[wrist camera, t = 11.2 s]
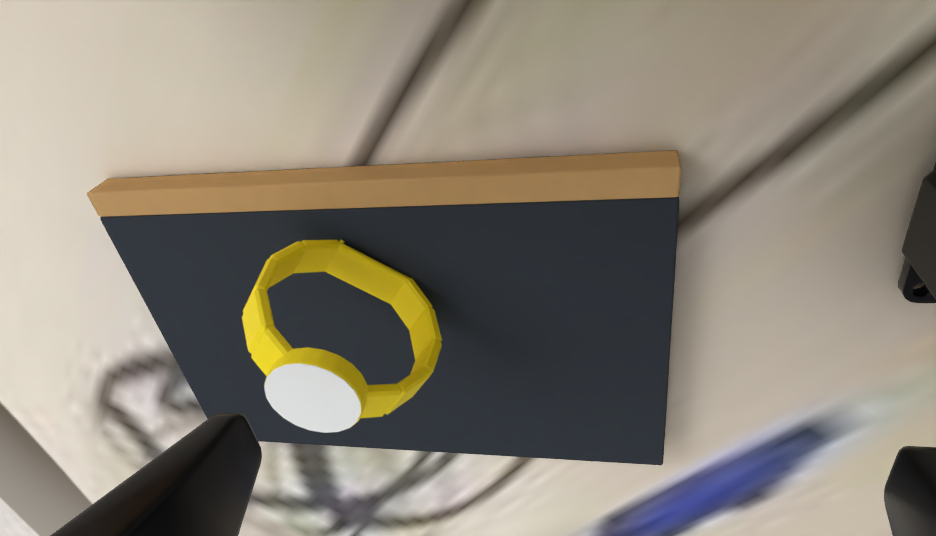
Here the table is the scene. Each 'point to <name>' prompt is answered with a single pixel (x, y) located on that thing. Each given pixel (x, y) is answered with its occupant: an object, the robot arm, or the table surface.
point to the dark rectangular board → (430, 294)
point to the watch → (322, 372)
